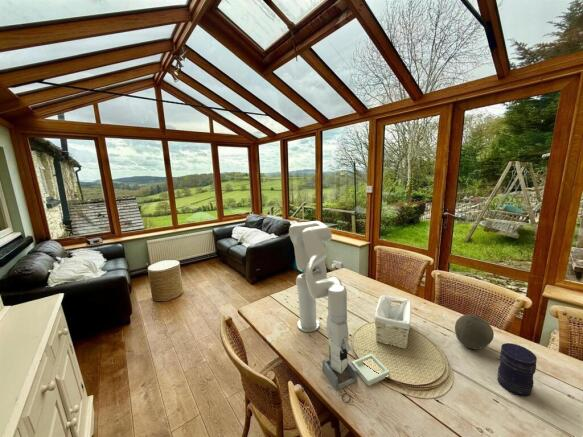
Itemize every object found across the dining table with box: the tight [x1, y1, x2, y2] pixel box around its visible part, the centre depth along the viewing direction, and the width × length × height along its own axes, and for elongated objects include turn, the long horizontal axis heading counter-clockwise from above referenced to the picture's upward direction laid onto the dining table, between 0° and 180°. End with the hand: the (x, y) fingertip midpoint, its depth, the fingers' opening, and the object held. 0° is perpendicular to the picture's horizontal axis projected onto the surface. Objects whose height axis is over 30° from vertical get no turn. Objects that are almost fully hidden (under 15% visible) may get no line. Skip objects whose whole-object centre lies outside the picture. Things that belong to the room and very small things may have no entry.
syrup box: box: [328, 336, 349, 375], centre depth 99 cm, size 6×6×14 cm
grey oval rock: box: [454, 313, 495, 350], centre depth 111 cm, size 14×14×15 cm
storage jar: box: [497, 342, 538, 398], centre depth 90 cm, size 10×10×15 cm
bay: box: [321, 357, 358, 391], centre depth 100 cm, size 11×10×5 cm
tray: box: [351, 353, 390, 387], centre depth 101 cm, size 11×11×2 cm
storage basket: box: [374, 294, 412, 349], centre depth 123 cm, size 24×16×15 cm
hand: (337, 351), depth 99 cm, fingers closed on syrup box, 7 cm apart
